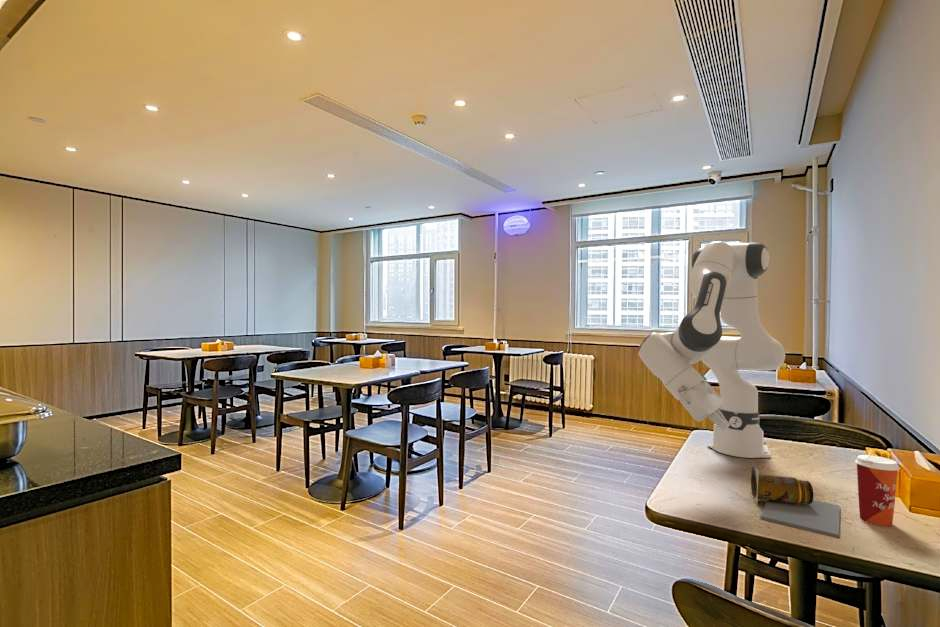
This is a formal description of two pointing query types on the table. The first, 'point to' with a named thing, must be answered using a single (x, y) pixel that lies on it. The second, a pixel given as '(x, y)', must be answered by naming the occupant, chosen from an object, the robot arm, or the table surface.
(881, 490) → the paper cup
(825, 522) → the slate mat
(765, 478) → the condiment
